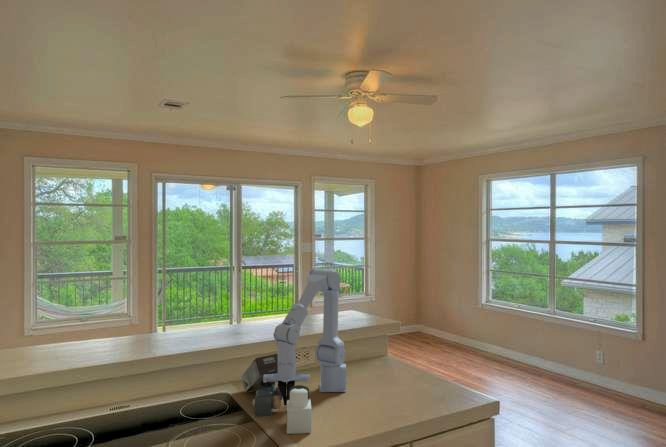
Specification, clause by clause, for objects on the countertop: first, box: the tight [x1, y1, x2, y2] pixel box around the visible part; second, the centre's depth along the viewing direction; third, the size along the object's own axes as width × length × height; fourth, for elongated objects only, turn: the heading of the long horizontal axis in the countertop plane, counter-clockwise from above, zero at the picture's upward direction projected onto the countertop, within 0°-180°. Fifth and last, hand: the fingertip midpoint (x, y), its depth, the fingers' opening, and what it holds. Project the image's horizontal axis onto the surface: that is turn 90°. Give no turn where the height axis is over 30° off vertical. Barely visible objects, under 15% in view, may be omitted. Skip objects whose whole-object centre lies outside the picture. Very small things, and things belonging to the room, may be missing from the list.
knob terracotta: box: [252, 396, 282, 410], centre depth 144 cm, size 9×4×4 cm, turn 92°
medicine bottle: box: [285, 384, 312, 435], centre depth 132 cm, size 7×7×12 cm
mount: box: [254, 381, 277, 418], centre depth 147 cm, size 5×14×6 cm, turn 2°
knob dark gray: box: [255, 386, 283, 401], centre depth 151 cm, size 9×4×4 cm, turn 92°
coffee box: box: [240, 353, 278, 394], centre depth 158 cm, size 9×6×16 cm
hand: (286, 404), depth 144 cm, fingers closed
